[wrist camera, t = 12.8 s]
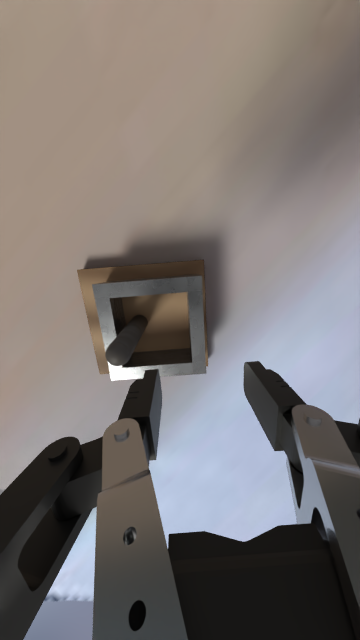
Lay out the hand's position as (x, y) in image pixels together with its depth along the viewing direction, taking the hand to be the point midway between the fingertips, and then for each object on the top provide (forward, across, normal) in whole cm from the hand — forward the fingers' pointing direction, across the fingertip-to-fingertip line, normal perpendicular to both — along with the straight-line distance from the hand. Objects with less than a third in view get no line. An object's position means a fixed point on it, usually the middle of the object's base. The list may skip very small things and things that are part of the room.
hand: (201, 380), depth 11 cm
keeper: (+15, +6, 0) cm, 16 cm away
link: (+14, +4, 0) cm, 14 cm away
